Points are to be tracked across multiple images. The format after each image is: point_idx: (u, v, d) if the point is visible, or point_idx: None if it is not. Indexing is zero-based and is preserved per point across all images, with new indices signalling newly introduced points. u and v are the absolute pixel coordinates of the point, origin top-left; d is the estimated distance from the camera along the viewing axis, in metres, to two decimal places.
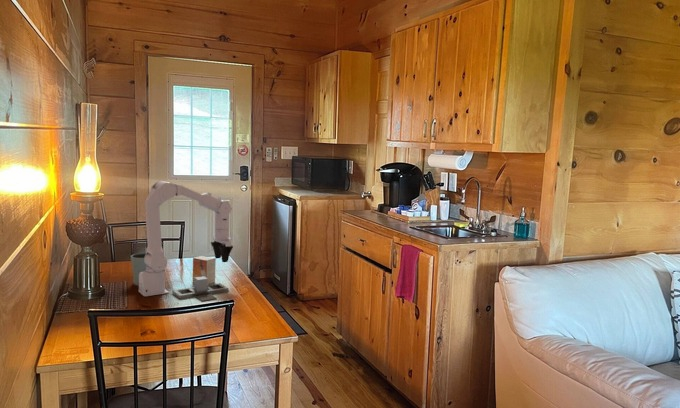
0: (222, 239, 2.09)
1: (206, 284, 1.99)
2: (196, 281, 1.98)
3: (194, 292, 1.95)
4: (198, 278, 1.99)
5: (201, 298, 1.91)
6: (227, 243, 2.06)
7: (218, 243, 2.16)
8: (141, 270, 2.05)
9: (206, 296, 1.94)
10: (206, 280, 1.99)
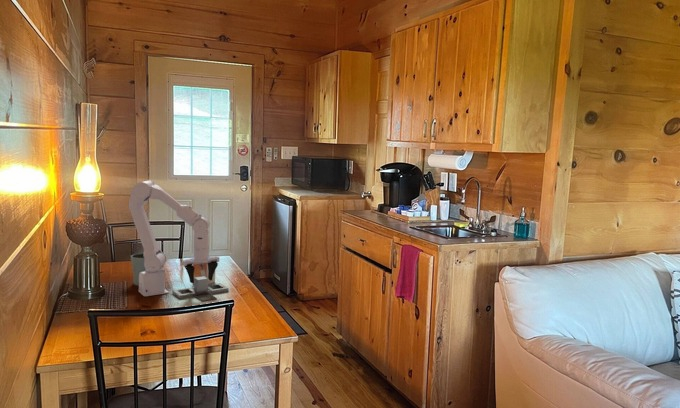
0: (193, 258, 1.97)
1: (206, 284, 1.99)
2: (196, 281, 1.98)
3: (194, 292, 1.95)
4: (198, 278, 1.99)
5: (201, 298, 1.91)
6: (182, 262, 1.94)
7: (210, 264, 2.01)
8: (141, 270, 2.05)
9: (206, 296, 1.94)
10: (206, 280, 1.99)
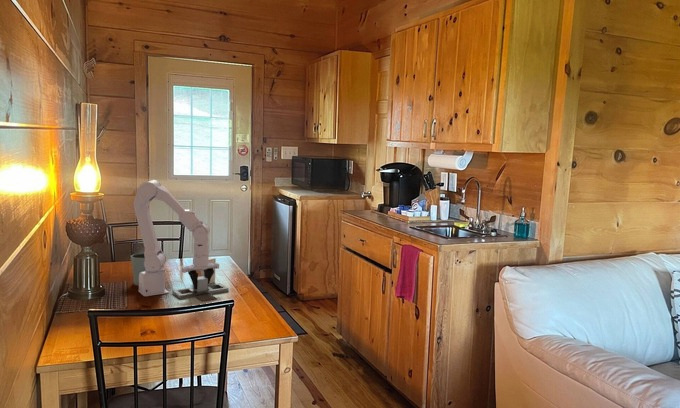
0: (193, 265, 1.98)
1: (206, 284, 1.99)
2: None
3: (194, 292, 1.95)
4: (198, 278, 1.99)
5: (201, 298, 1.91)
6: (182, 268, 1.95)
7: (206, 271, 2.00)
8: (141, 270, 2.05)
9: (206, 296, 1.94)
10: (206, 280, 1.99)
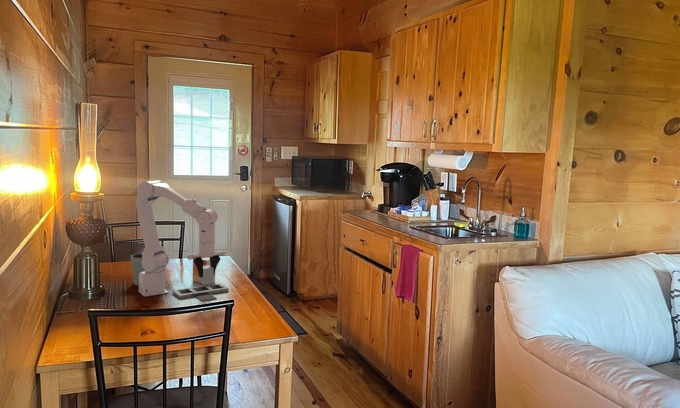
0: (199, 252, 1.90)
1: (212, 273, 1.91)
2: None
3: (194, 292, 1.95)
4: (203, 267, 1.91)
5: (201, 298, 1.91)
6: (187, 255, 1.87)
7: (212, 258, 1.93)
8: (141, 270, 2.05)
9: (206, 296, 1.94)
10: (212, 269, 1.91)
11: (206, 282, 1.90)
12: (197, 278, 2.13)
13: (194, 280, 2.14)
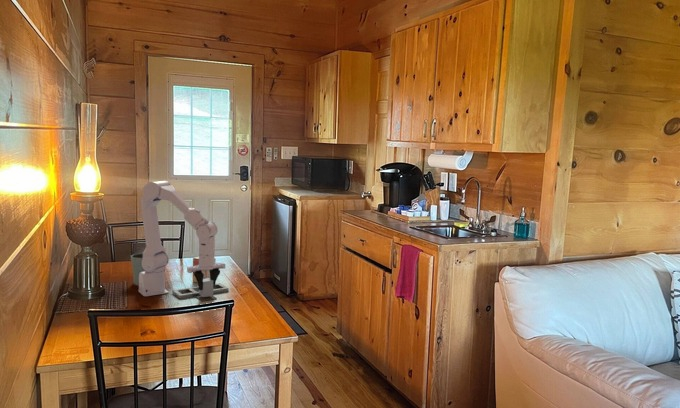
0: (198, 265, 1.90)
1: (212, 286, 1.92)
2: None
3: (194, 292, 1.95)
4: (203, 280, 1.92)
5: (201, 298, 1.91)
6: (187, 269, 1.88)
7: (212, 271, 1.93)
8: (141, 270, 2.05)
9: None
10: (212, 282, 1.92)
11: (206, 295, 1.91)
12: None
13: (194, 280, 2.14)
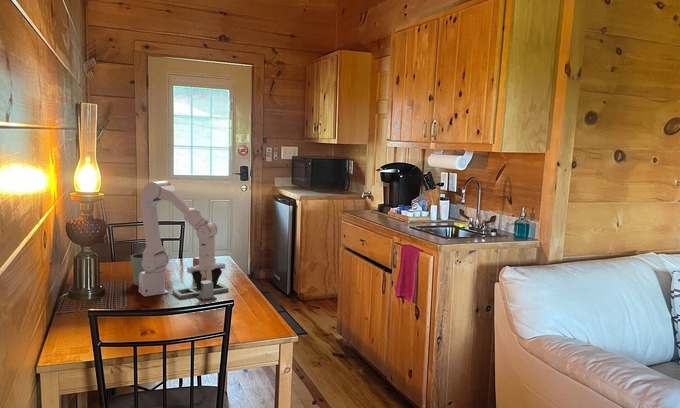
0: (198, 265, 1.91)
1: (212, 288, 1.92)
2: (201, 285, 1.91)
3: (194, 292, 1.95)
4: (203, 282, 1.92)
5: (201, 298, 1.91)
6: (187, 269, 1.88)
7: (213, 271, 1.94)
8: (141, 270, 2.05)
9: None
10: (212, 284, 1.92)
11: (206, 297, 1.91)
12: None
13: (194, 280, 2.14)
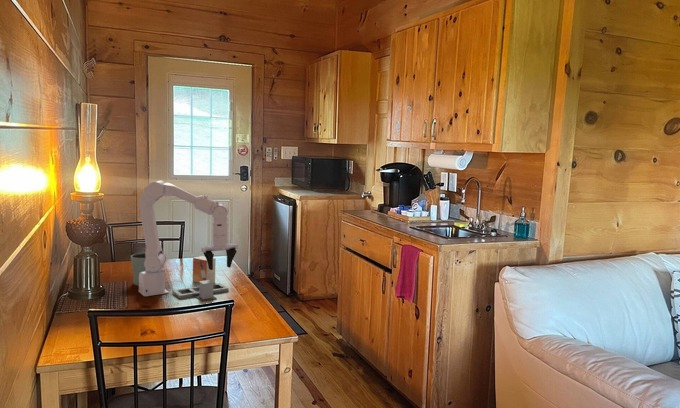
0: (212, 245, 1.98)
1: (212, 288, 1.92)
2: (201, 285, 1.91)
3: (194, 292, 1.95)
4: (203, 282, 1.92)
5: (201, 298, 1.91)
6: (202, 248, 1.95)
7: (228, 251, 2.01)
8: (141, 270, 2.05)
9: None
10: (212, 284, 1.92)
11: (206, 297, 1.91)
12: (197, 278, 2.13)
13: (194, 280, 2.14)
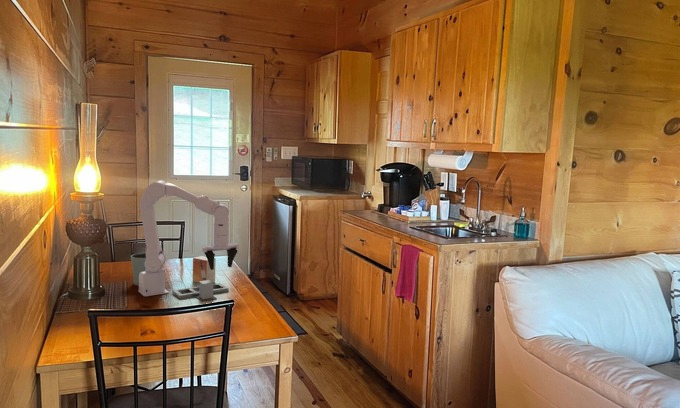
0: (213, 245, 1.99)
1: (212, 288, 1.92)
2: (201, 285, 1.91)
3: (194, 292, 1.95)
4: (203, 282, 1.92)
5: (201, 298, 1.91)
6: (203, 248, 1.96)
7: (229, 251, 2.02)
8: (141, 270, 2.05)
9: None
10: (212, 284, 1.92)
11: (206, 297, 1.91)
12: (197, 278, 2.13)
13: (194, 280, 2.14)
